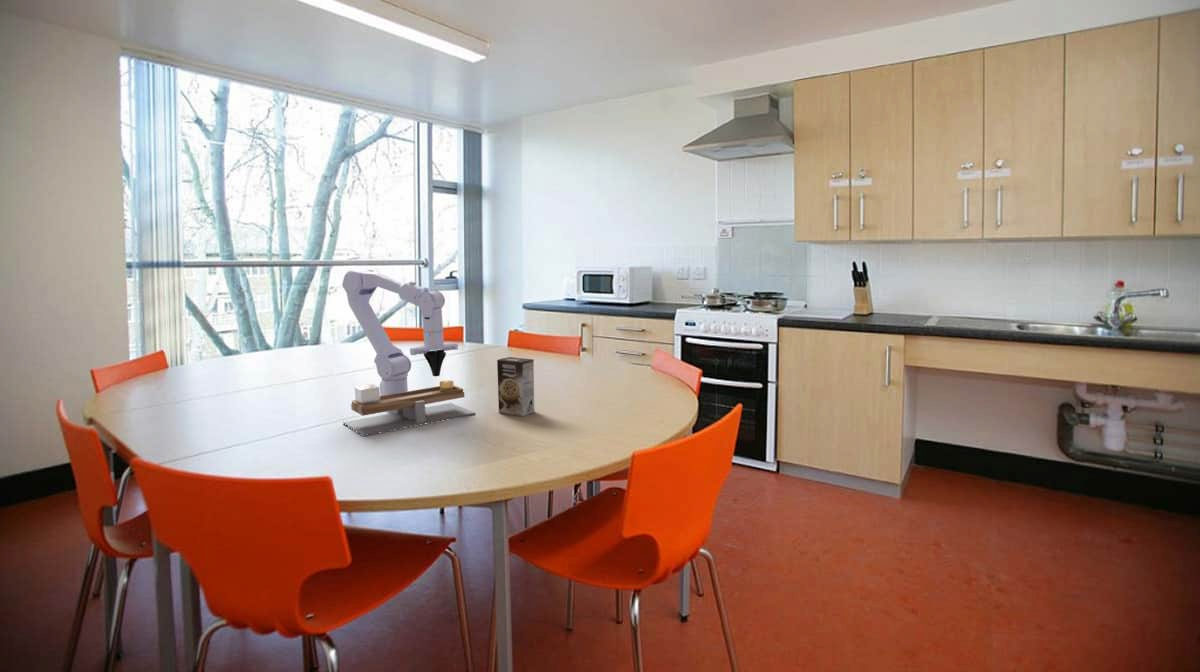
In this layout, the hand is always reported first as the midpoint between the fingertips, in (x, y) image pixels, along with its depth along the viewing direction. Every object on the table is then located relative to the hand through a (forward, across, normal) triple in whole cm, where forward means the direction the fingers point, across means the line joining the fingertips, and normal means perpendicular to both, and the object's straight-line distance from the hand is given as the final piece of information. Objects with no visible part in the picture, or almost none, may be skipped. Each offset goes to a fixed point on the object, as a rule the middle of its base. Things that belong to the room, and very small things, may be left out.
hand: (436, 375), depth 194 cm
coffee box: (+11, +16, -19) cm, 27 cm away
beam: (+5, -11, -6) cm, 13 cm away
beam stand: (+10, -11, -6) cm, 16 cm away
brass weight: (+4, +1, -6) cm, 7 cm away
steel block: (+4, -23, -5) cm, 24 cm away
